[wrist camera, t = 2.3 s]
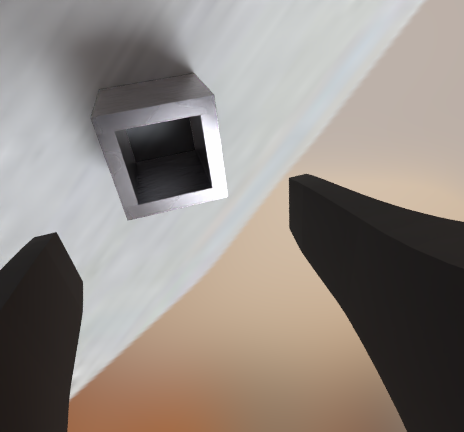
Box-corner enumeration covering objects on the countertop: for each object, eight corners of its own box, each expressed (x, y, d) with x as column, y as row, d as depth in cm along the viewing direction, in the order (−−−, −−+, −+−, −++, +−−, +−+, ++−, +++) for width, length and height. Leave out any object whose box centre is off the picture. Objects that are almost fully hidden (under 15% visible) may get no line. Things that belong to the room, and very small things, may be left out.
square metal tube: (127, 175, 20) (127, 220, 16) (99, 89, 17) (90, 117, 13) (208, 158, 20) (228, 196, 16) (194, 73, 18) (214, 94, 14)
